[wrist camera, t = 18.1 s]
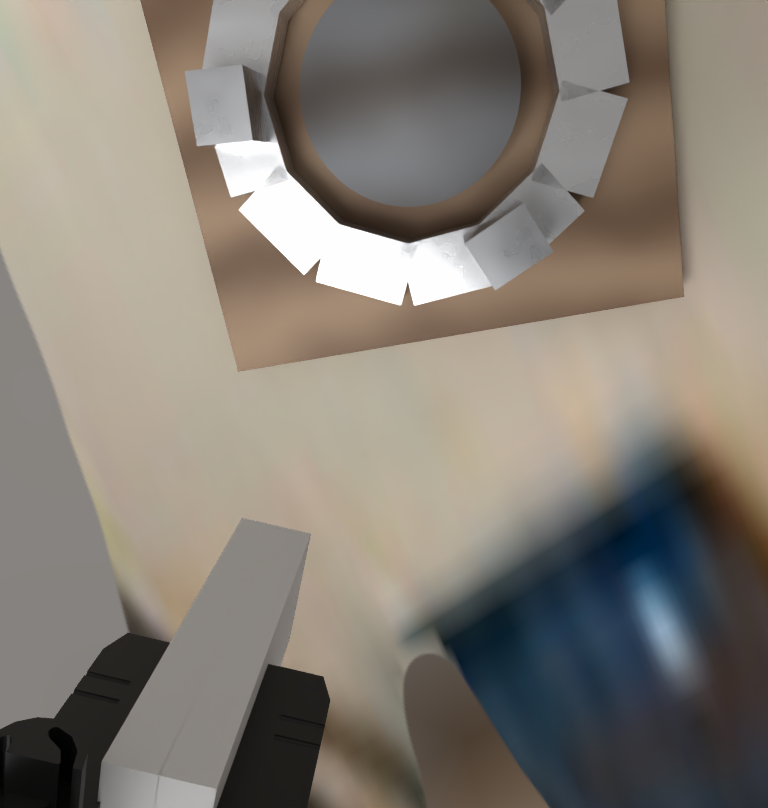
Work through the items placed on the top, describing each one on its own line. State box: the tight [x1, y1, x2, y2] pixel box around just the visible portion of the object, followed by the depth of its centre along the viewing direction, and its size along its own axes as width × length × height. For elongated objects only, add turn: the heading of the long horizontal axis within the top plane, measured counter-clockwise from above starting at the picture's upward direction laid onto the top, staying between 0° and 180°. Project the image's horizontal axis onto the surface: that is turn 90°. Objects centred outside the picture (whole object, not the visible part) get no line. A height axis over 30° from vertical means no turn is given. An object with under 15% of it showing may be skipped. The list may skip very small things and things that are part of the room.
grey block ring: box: [185, 0, 630, 306], centre depth 32 cm, size 19×19×5 cm
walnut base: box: [141, 0, 684, 372], centre depth 34 cm, size 24×24×4 cm
